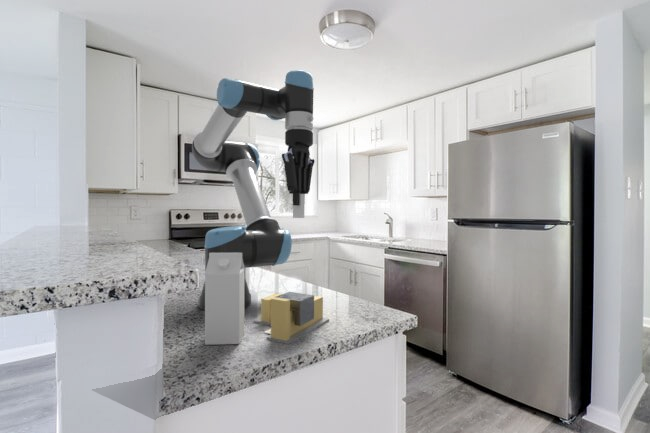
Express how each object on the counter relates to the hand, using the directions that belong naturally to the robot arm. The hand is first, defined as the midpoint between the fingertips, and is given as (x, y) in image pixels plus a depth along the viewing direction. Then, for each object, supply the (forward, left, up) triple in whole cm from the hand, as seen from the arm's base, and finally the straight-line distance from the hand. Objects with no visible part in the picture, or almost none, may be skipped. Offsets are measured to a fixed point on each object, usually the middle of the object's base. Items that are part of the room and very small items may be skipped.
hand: (298, 217), depth 93 cm
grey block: (+7, -12, -23) cm, 27 cm away
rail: (+7, -10, -26) cm, 29 cm away
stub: (-3, -7, -26) cm, 27 cm away
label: (+3, -13, -26) cm, 30 cm away
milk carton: (-4, -23, -27) cm, 35 cm away
